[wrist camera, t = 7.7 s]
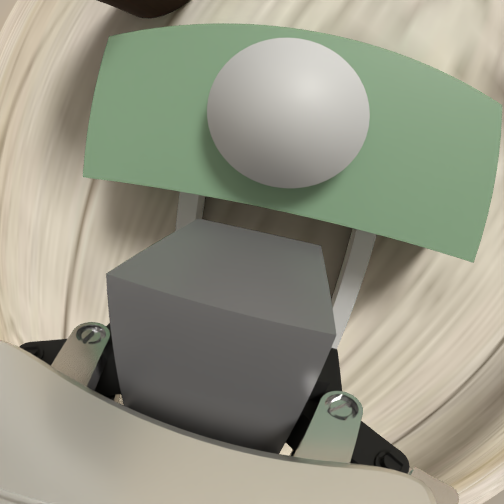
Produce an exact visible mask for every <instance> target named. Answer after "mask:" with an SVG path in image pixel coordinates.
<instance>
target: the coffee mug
mask: <svg viewBox="0 0 504 504" xmlns="http://www.w3.org/2000/svg"><path fill="white" fill-rule="evenodd" d="M98 1H100V2H103V3H106V4H108V5H111V6H113V7H116V8H118V9H121V10H123V11H126V12H128V13H130V14H133V15H135V16H137V17H141V18H154V17H159V16H162V15H165V14H168V13H170V12H172V11H174V10H176V9H178V8H180V7H181V6H183V5H184V4H185V3H187V2H188V1H189V0H98Z"/></svg>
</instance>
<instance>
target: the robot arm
mask: <svg viewBox="0 0 504 504" xmlns="http://www.w3.org/2000/svg"><path fill="white" fill-rule="evenodd" d="M120 394H121V390H120V385H119V380H118V375H117V369H116V363H115V357H114V350H113V343H112V335H111V327H110V323H109V324H108V325H107V326H104V325H103V324H100V323H95V322H88V323H83V324H80V325H79V326H77V327H76V328H75V329H74V330H73V331H72V333H71V334H70V336H69V338H68V339H61V340H50V341H37V342H28V343H25V344H23V345H21V346H20V347H18V346H15V345H13V344H11V343H8V342H5V341H2V340H0V504H458V502H459V496H458V493H457V491H456V490H455V489H454V488H453V487H452V486H450V485H448V484H446V483H444V482H442V481H440V480H438V479H437V478H435V477H433V476H431V475H429V474H428V473H426V472H424V471H422V470H420V469H419V468H417V467H415V468H414V469H412V468H410V466H409V461H408V459H407V458H406V456H405V455H404V454H403V453H402V452H401V451H400V450H398V449H397V448H396V447H394V446H393V445H392V444H390V443H389V442H388V441H386V440H385V439H384V438H382V437H381V436H380V435H379V434H377V433H376V432H375V431H374V430H372V429H371V428H370V427H368V426H367V425H366V424H365V423H363V422H362V421H361V419H362V415H363V408H362V405H361V403H360V402H359V400H358V399H357V398H355V397H354V396H353V395H351V394H349V393H347V392H342V385H341V376H340V367H339V359H338V352H337V349H335V348H331V350H330V352H329V354H328V357H327V359H326V361H325V364H324V366H323V368H322V370H321V373H320V375H319V377H318V379H317V381H316V383H315V386H314V388H313V390H312V392H311V394H310V396H309V398H308V400H307V402H306V404H305V406H304V408H303V410H302V412H301V414H300V416H299V418H298V420H297V422H296V424H295V426H294V428H293V429H292V431H291V433H290V435H289V437H288V439H287V440H286V442H285V443H287V444H288V445H289V446H290V447H291V448H292V449H293V450H292V451H291V453H290V455H289V456H287V455H281V454H275V453H269V452H264V451H259V450H255V449H250V448H246V447H241V446H237V445H233V444H229V443H226V442H222V441H218V440H215V439H211V438H208V437H205V436H201V435H198V434H195V433H192V432H189V431H186V430H183V429H180V428H177V427H175V426H172V425H169V424H166V423H164V422H161V421H159V420H156V419H154V418H151V417H149V416H146V415H144V414H141V413H139V412H137V411H135V410H132V409H130V408H128V407H126V406H124V405H121V404H119V403H118V401H119V398H120Z"/></svg>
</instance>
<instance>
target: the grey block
mask: <svg viewBox="0 0 504 504" xmlns="http://www.w3.org/2000/svg"><path fill="white" fill-rule="evenodd" d="M106 278H107V295H108V307H109V318H110V327H111V335H112V343H113V350H114V357H115V363H116V369H117V375H118V380H119V385H120V390H121V395H122V399H123V404H124V406H126V407H128V408H130V409H132V410H135V411H137V412H139V413H141V414H144V415H146V416H149V417H151V418H154V419H156V420H159V421H161V422H164V423H166V424H169V425H172V426H175V427H177V428H180V429H183V430H186V431H189V432H192V433H195V434H198V435H201V436H205V437H208V438H211V439H215V440H218V441H222V442H226V443H229V444H233V445H237V446H241V447H246V448H250V449H255V450H259V451H264V452H269V453H275V454H279V453H280V451H281V449H282V448H283V446H284V444H285V442H286V440H287V439H288V437H289V435H290V433H291V431H292V429H293V428H294V426H295V424H296V422H297V420H298V418H299V416H300V414H301V412H302V410H303V408H304V406H305V404H306V402H307V400H308V398H309V396H310V394H311V392H312V390H313V388H314V386H315V383H316V381H317V379H318V377H319V375H320V373H321V370H322V368H323V366H324V364H325V361H326V359H327V357H328V354H329V352H330V350H331V347H332V345H333V342H334V340H335V337H336V328H335V321H334V315H333V308H332V302H331V296H330V290H329V285H328V279H327V274H326V268H325V263H324V258H323V253H322V248H321V246H320V245H316V244H311V243H307V242H303V241H298V240H294V239H290V238H285V237H281V236H276V235H272V234H268V233H263V232H259V231H254V230H249V229H245V228H240V227H236V226H231V225H226V224H222V223H217V222H212V221H208V220H203V219H196V220H195V221H193V222H191V223H189V224H187V225H186V226H184V227H182V228H181V229H179V230H177V231H175V232H174V233H172V234H170V235H168V236H167V237H165V238H163V239H162V240H160V241H158V242H157V243H155V244H153V245H152V246H150V247H148V248H147V249H145V250H143V251H142V252H140V253H138V254H137V255H135V256H134V257H132V258H130V259H129V260H127V261H125V262H124V263H122V264H121V265H119V266H117V267H116V268H114V269H113V270H111V271H110V272H108V273H106Z"/></svg>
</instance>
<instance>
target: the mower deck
mask: <svg viewBox="0 0 504 504" xmlns="http://www.w3.org/2000/svg"><path fill="white" fill-rule="evenodd" d="M501 124H502V105H501V104H499V103H498V102H496V101H495V100H493V99H492V98H490V97H488V96H487V95H485V94H483V93H482V92H480V91H478V90H477V89H475V88H473V87H471V86H469V85H468V84H466V83H464V82H462V81H460V80H458V79H456V78H454V77H452V76H450V75H448V74H446V73H444V72H442V71H440V70H438V69H435V68H433V67H431V66H429V65H426V64H424V63H421V62H419V61H417V60H414V59H411V58H409V57H406V56H404V55H401V54H398V53H395V52H392V51H389V50H386V49H383V48H380V47H377V46H374V45H370V44H367V43H363V42H359V41H356V40H352V39H348V38H344V37H339V36H335V35H330V34H325V33H320V32H314V31H308V30H302V29H295V28H287V27H278V26H268V25H254V24H193V25H179V26H169V27H160V28H152V29H145V30H139V31H133V32H128V33H123V34H118V35H113V36H109V38H108V41H107V45H106V48H105V51H104V55H103V59H102V62H101V66H100V70H99V74H98V78H97V83H96V87H95V92H94V97H93V102H92V107H91V113H90V119H89V125H88V132H87V139H86V148H85V157H84V168H83V177H86V178H94V179H101V180H109V181H116V182H123V183H130V184H137V185H143V186H150V187H156V188H162V189H168V190H174V191H180V193H179V202H178V211H177V220H176V230H175V231H177V230H179V229H181V228H182V227H184V226H186V225H187V224H189V223H191V222H193V221H195V220H196V219H202V216H203V209H204V201H205V196H208V197H213V198H219V199H224V200H229V201H234V202H239V203H244V204H249V205H254V206H259V207H264V208H268V209H273V210H278V211H282V212H287V213H291V214H296V215H300V216H304V217H309V218H313V219H317V220H322V221H326V222H330V223H334V224H338V225H342V226H346V227H350V228H353V229H352V233H351V236H350V240H349V244H348V247H347V251H346V254H345V258H344V261H343V265H342V268H341V271H340V275H339V278H338V281H337V284H336V287H335V290H334V294H333V297H332V300H331V302H332V308H333V315H334V321H335V328H336V337H335V340H334V342H333V345H332V347H331V348H335V349H337V347H338V345H339V342H340V340H341V337H342V335H343V333H344V330H345V328H346V325H347V322H348V320H349V317H350V315H351V312H352V309H353V307H354V304H355V301H356V298H357V296H358V293H359V290H360V287H361V284H362V281H363V278H364V275H365V272H366V269H367V266H368V263H369V259H370V256H371V253H372V250H373V246H374V243H375V239H376V236H377V235H381V236H385V237H389V238H392V239H396V240H399V241H403V242H407V243H410V244H414V245H417V246H421V247H424V248H428V249H431V250H434V251H438V252H441V253H444V254H448V255H451V256H454V257H457V258H460V259H464V260H467V261H470V262H473V263H474V260H475V257H476V254H477V251H478V247H479V244H480V241H481V238H482V234H483V231H484V227H485V223H486V220H487V216H488V211H489V207H490V203H491V198H492V193H493V188H494V183H495V177H496V171H497V164H498V157H499V148H500V138H501Z"/></svg>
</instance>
